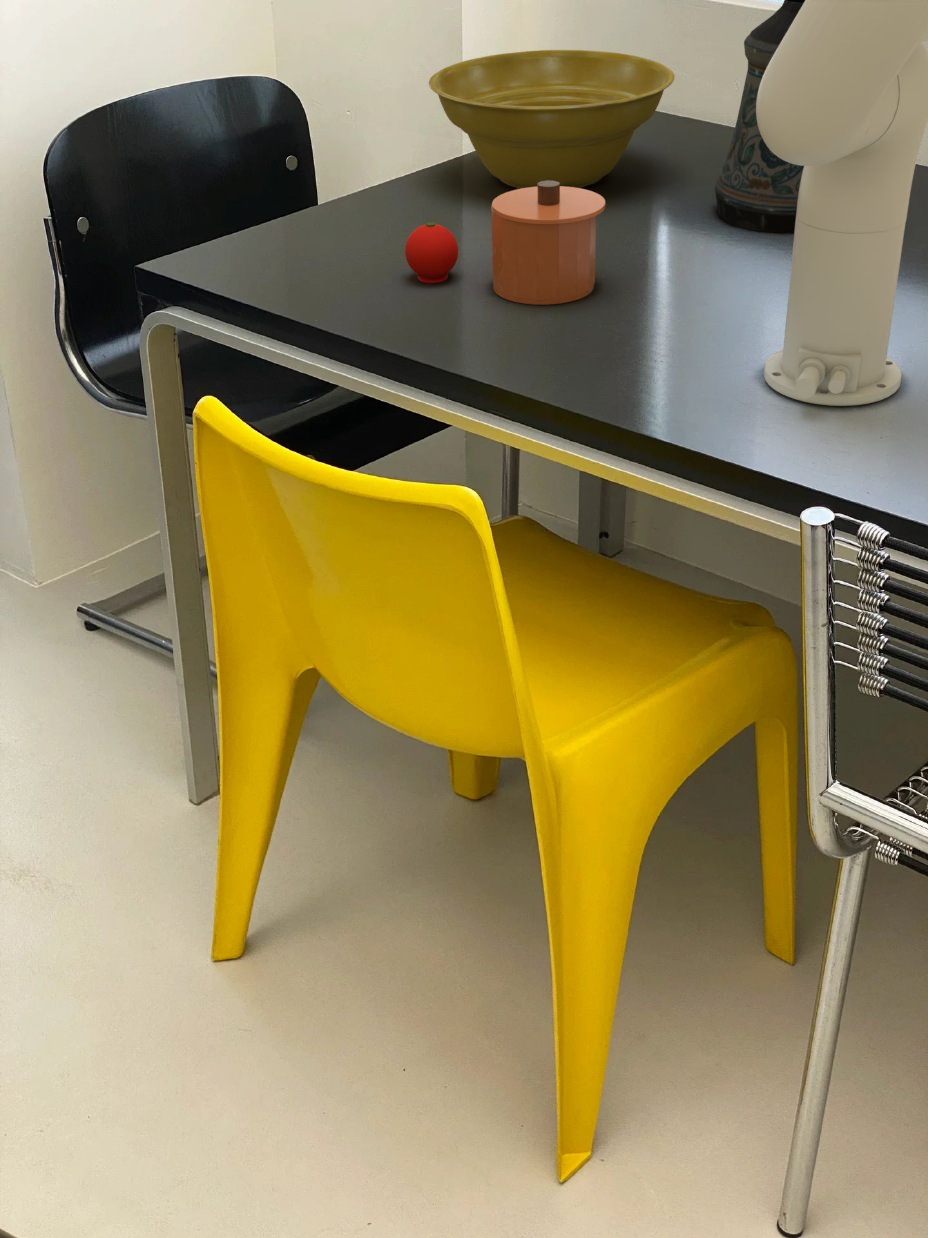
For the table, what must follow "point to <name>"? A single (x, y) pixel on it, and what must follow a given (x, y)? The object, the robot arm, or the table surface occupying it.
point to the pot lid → (548, 204)
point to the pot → (543, 260)
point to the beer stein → (759, 146)
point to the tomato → (431, 252)
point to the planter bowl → (551, 111)
